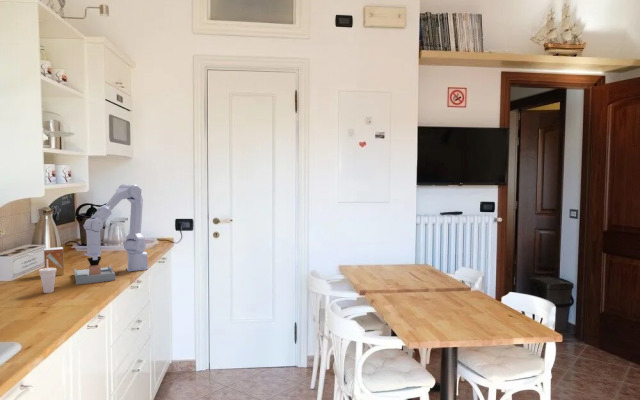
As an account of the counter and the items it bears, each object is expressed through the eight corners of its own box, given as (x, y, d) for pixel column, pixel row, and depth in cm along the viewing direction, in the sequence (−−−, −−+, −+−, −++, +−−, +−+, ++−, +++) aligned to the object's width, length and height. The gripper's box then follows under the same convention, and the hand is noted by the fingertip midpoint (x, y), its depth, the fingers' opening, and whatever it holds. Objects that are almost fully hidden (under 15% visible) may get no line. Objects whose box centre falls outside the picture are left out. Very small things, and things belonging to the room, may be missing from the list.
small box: (44, 277, 212) (43, 250, 211) (44, 274, 217) (43, 248, 216) (64, 274, 216) (63, 248, 215) (63, 272, 221) (62, 246, 220)
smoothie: (38, 294, 182) (37, 261, 181) (40, 290, 188) (39, 258, 187) (57, 292, 185) (55, 259, 184) (57, 289, 191) (56, 257, 190)
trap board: (110, 270, 225) (110, 264, 225) (115, 280, 206) (115, 273, 206) (74, 274, 217) (74, 267, 216) (76, 284, 198) (76, 277, 197)
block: (99, 274, 209) (99, 264, 208) (100, 276, 205) (100, 267, 205) (89, 275, 207) (88, 265, 206) (89, 277, 203) (89, 268, 202)
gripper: (83, 242, 211) (84, 270, 212) (84, 247, 199) (85, 276, 200) (99, 241, 215) (100, 268, 216) (102, 245, 203) (103, 274, 203)
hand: (94, 272), depth 208 cm, fingers closed, pressing on block
